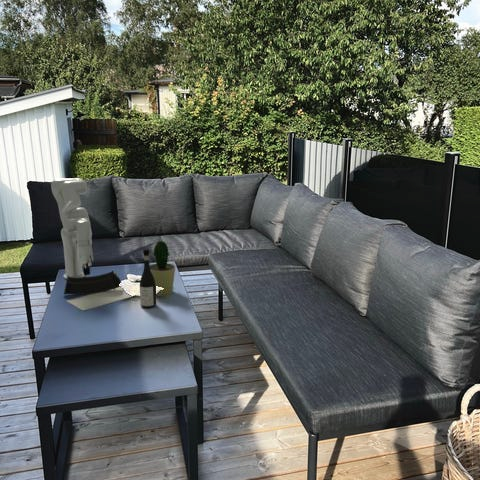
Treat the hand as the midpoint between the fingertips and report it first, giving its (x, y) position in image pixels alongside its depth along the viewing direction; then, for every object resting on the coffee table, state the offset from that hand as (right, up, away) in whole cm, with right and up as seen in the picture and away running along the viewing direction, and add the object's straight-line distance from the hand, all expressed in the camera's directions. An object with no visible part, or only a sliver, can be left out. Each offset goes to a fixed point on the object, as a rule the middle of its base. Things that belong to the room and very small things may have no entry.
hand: (86, 274), depth 267 cm
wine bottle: (+38, -15, -20) cm, 46 cm away
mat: (+12, -12, -10) cm, 20 cm away
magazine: (+4, -10, -2) cm, 11 cm away
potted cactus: (+42, -10, 0) cm, 43 cm away
